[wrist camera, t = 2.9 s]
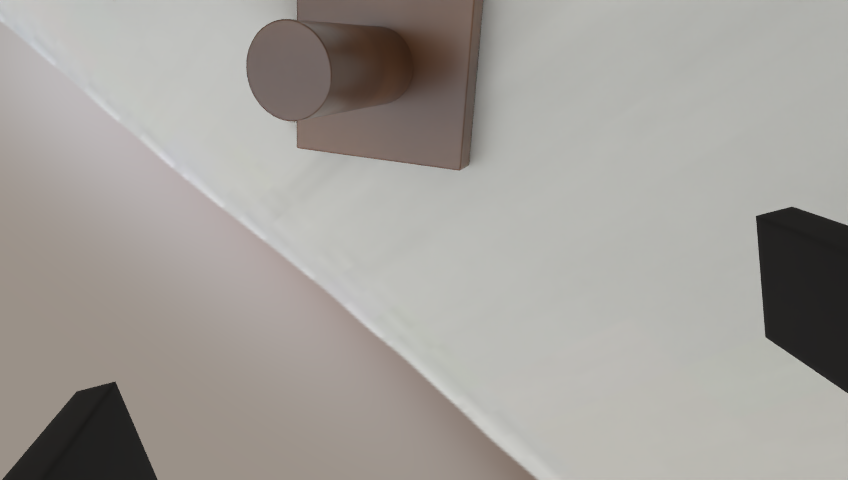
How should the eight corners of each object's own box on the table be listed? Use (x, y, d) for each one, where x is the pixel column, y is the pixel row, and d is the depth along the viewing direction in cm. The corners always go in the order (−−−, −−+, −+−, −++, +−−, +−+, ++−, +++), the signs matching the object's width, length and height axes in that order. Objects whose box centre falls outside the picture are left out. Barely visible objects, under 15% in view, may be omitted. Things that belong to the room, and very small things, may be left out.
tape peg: (312, -35, 31) (180, -67, 23) (486, -30, 29) (409, -63, 20) (311, 144, 34) (192, 175, 26) (469, 165, 31) (395, 208, 23)
